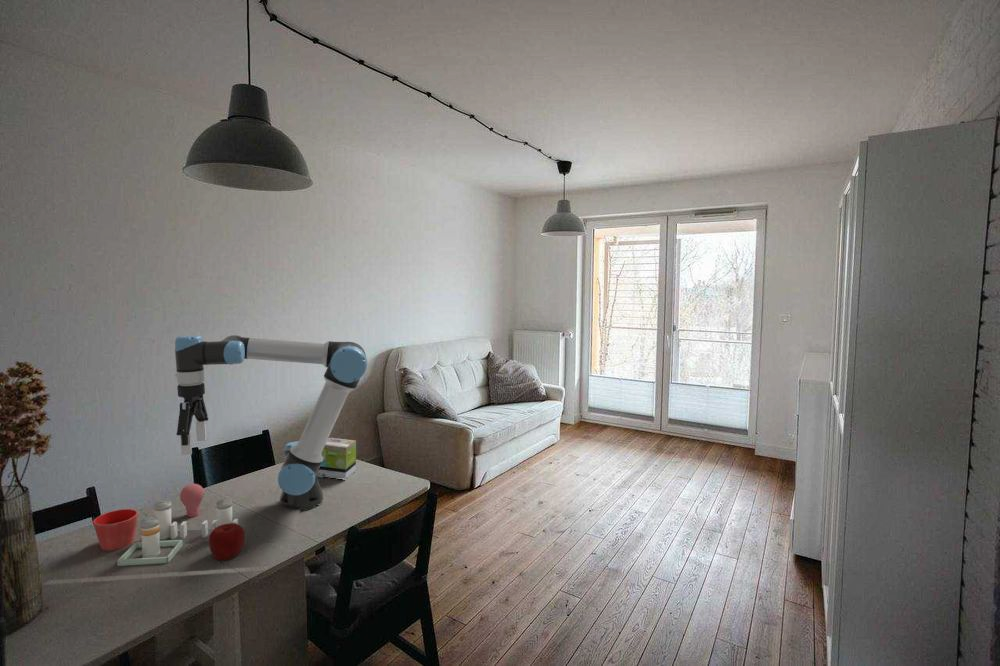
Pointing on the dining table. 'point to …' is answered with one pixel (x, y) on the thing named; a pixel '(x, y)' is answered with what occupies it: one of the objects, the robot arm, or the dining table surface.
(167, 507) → the fuse
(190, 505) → the light bulb
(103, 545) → the flower pot
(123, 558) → the tray
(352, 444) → the tea box
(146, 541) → the cylinder
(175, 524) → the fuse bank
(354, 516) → the dining table surface
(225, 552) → the apple
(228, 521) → the white rounded cylinder
